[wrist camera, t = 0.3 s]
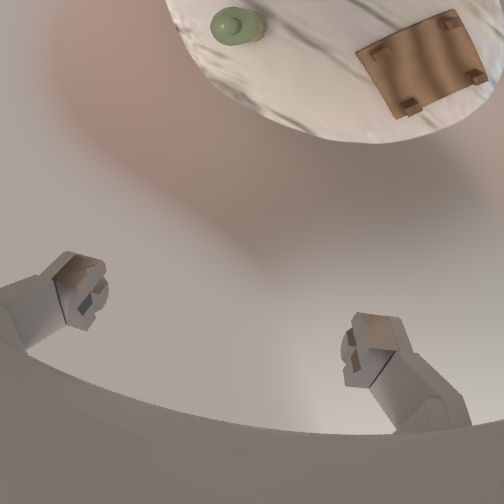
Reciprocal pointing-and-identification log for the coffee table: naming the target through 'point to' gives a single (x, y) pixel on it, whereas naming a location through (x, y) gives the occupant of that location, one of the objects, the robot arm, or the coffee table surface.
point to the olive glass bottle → (238, 26)
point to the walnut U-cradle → (423, 63)
